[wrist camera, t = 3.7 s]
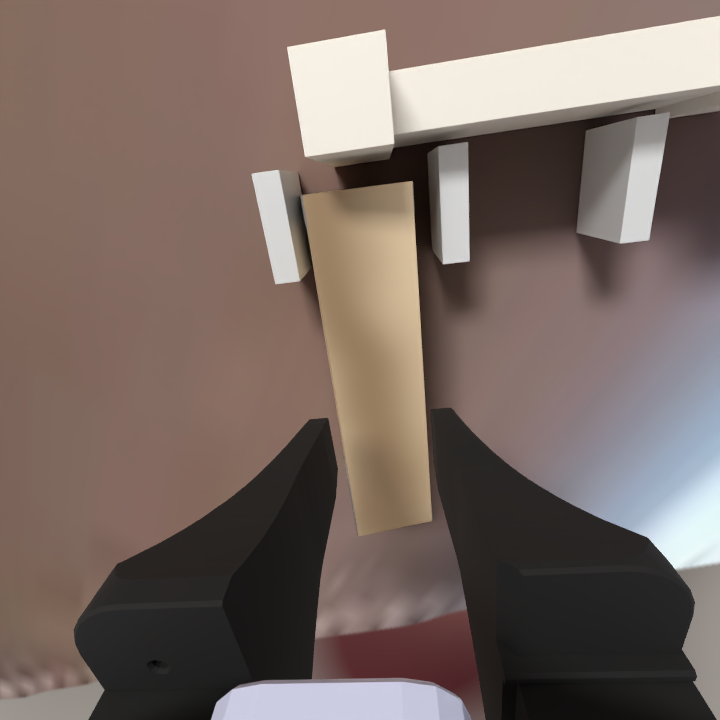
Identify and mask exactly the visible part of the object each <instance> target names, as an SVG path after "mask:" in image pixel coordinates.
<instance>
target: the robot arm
mask: <svg viewBox="0 0 720 720" xmlns="http://www.w3.org/2000/svg"><path fill="white" fill-rule="evenodd" d="M431 423H432V439H433V455H434V466H435V472H436V478H437V485H438V491H439V494H440V498H441V502H442V505H443V509H444V513H445V516H446V520H447V523H448V527H449V530H450V534H451V538H452V541H453V545H454V548H455V552H456V555H457V560H458V564H459V568H460V573H461V578H462V584H463V589H464V595H465V600H466V606H467V611H468V617H469V623H470V629H471V634H472V640H473V645H474V652H475V658H476V664H477V669H478V675H479V681H480V687H481V693H482V700H483V706H484V712H485V718H486V720H716V718H715V716H714V715H713V713H712V711H711V710H710V708H709V707H708V705H707V704H706V702H705V700H704V699H703V697H702V696H701V694H700V692H699V691H698V689H697V688H696V686H695V684H694V683H693V681H695V680H696V678H697V675H696V672H695V669H694V668H693V666H692V665H691V663H690V662H689V660H688V658H687V657H686V655H685V654H684V652H683V651H682V647H683V644H684V641H685V638H686V635H687V632H688V629H689V626H690V623H691V620H692V617H693V613H694V604H695V601H694V599H693V596H692V593H691V590H690V589H689V587H688V586H687V585H686V584H685V582H684V581H683V579H682V578H681V577H680V575H679V574H678V573H677V571H676V570H675V569H674V568H673V566H672V565H671V564H670V563H669V561H668V560H667V559H666V558H665V556H664V555H663V554H662V553H661V552H660V551H659V550H658V549H657V548H656V547H655V546H654V544H653V543H652V542H651V541H650V540H649V539H648V538H647V537H644V536H642V535H640V534H637V533H635V532H632V531H630V530H627V529H625V528H622V527H620V526H617V525H615V524H612V523H610V522H607V521H605V520H603V519H600V518H598V517H596V516H594V515H592V514H590V513H588V512H586V511H584V510H582V509H580V508H577V507H575V506H573V505H572V504H570V503H568V502H566V501H564V500H562V499H560V498H558V497H557V496H555V495H553V494H552V493H550V492H548V491H547V490H545V489H543V488H541V487H540V486H538V485H537V484H535V483H533V482H532V481H530V480H529V479H527V478H526V477H525V476H523V475H522V474H520V473H519V472H517V471H516V470H515V469H513V468H512V467H511V466H509V465H508V464H507V463H506V462H504V461H503V460H502V459H501V458H500V457H499V456H497V455H496V454H495V453H494V452H493V451H492V450H491V449H489V448H488V447H487V446H486V445H485V444H484V443H483V442H482V441H481V440H480V439H479V438H478V437H477V436H476V435H475V434H474V433H473V432H472V431H471V430H470V429H469V428H468V427H467V425H466V424H465V423H464V422H463V421H462V420H461V419H460V418H459V416H458V415H457V414H456V413H455V411H454V410H452V409H451V408H442V409H431ZM337 472H338V468H337V462H336V457H335V452H334V447H333V441H332V436H331V431H330V426H329V420H328V418H322V419H310V420H309V421H308V422H307V423H306V424H305V425H304V426H303V427H302V429H301V430H300V431H299V432H298V433H297V434H296V435H295V437H294V438H293V439H292V440H291V441H290V442H289V443H288V445H287V446H286V447H285V448H284V449H283V450H282V451H281V452H280V453H279V454H278V455H277V457H276V458H275V459H274V460H273V461H272V462H270V463H269V464H268V465H267V466H266V467H265V468H264V469H263V470H262V471H261V472H260V473H259V474H258V475H257V476H256V477H255V478H254V479H253V480H252V481H251V482H249V483H248V484H247V485H246V486H245V487H244V488H242V489H241V490H240V491H239V492H237V493H236V494H235V495H234V496H232V497H231V498H230V499H228V500H227V501H226V502H224V503H223V504H221V505H220V506H219V507H217V508H216V509H214V510H213V511H211V512H210V513H209V514H207V515H206V516H204V517H203V518H201V519H200V520H198V521H197V522H195V523H193V524H192V525H190V526H189V527H187V528H185V529H184V530H182V531H180V532H178V533H177V534H175V535H173V536H172V537H170V538H168V539H166V540H164V541H163V542H161V543H159V544H157V545H155V546H153V547H151V548H149V549H147V550H145V551H143V552H141V553H139V554H137V555H135V556H133V557H131V558H129V559H127V560H125V561H123V562H121V563H118V564H117V565H116V566H115V568H114V569H113V570H112V572H111V573H110V575H109V576H108V578H107V579H106V581H105V582H104V583H103V585H102V586H101V588H100V589H99V591H98V592H97V593H96V595H95V596H94V598H93V599H92V601H91V602H90V604H89V605H88V606H87V608H86V609H85V611H84V612H83V614H82V615H81V616H80V618H79V619H78V621H77V624H76V626H75V628H74V638H75V644H76V646H77V648H78V651H79V653H80V655H81V656H82V658H83V659H84V661H85V662H86V663H87V665H88V666H89V668H90V669H91V671H92V672H93V674H94V675H95V676H96V678H97V679H98V681H99V682H100V684H101V685H102V687H103V688H104V689H105V691H104V692H103V694H102V696H101V698H100V700H99V702H98V703H97V705H96V707H95V709H94V711H93V713H92V714H91V716H90V718H89V720H471V717H470V715H469V713H468V711H467V709H466V708H465V706H464V704H463V702H462V700H461V699H460V698H459V697H458V696H456V695H455V694H454V693H452V692H450V691H448V690H446V689H445V688H443V687H441V686H439V685H437V684H435V683H433V682H429V681H421V680H414V679H406V678H370V679H313V680H312V668H313V655H314V642H315V630H316V618H317V607H318V597H319V587H320V577H321V571H322V564H323V559H324V554H325V549H326V544H327V539H328V534H329V529H330V524H331V519H332V514H333V509H334V504H335V499H336V488H337Z"/></svg>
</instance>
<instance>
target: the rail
mask: <svg viewBox="0 0 720 720" xmlns="http://www.w3.org/2000/svg"><path fill="white" fill-rule="evenodd" d="M300 199H301V205H302V211H303V217H304V221H305V225H306V228H307V234H308V240H309V246H310V252H311V258H312V264H313V270H314V276H315V282H316V288H317V294H318V300H319V306H320V312H321V318H322V324H323V330H324V336H325V342H326V348H327V354H328V360H329V366H330V372H331V378H332V384H333V390H334V396H335V402H336V408H337V414H338V420H339V426H340V432H341V438H342V444H343V450H344V461H345V467H346V473H347V479H348V485H349V490H350V496H351V502H352V507H353V513H354V519H355V524H356V530H357V535H359V536H363V535H368V534H373V533H377V532H382V531H387V530H392V529H396V528H401V527H406V526H411V525H415V524H420V523H425V522H430V521H432V504H431V494H430V476H429V459H428V442H427V425H426V408H425V391H424V373H423V356H422V339H421V322H420V305H419V287H418V270H417V253H416V236H415V219H414V213H415V208H414V190H413V181H408V182H399V183H390V184H382V185H374V186H367V187H359V188H351V189H344V190H336V191H328V192H321V193H313V194H305V195H300Z"/></svg>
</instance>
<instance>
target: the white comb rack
mask: <svg viewBox="0 0 720 720" xmlns="http://www.w3.org/2000/svg"><path fill="white" fill-rule="evenodd" d="M287 49H288V55H289V61H290V68H291V74H292V80H293V86H294V92H295V98H296V104H297V110H298V116H299V122H300V128H301V135H302V141H303V147H304V153H305V157H307V158H310V159H312V160H315V161H318V162H321V163H324V164H326V165H329V166H332V167H339V166H346V165H352V164H359V163H366V162H373V161H380V160H387V159H390V156H391V153H392V149H393V148H396V147H402V146H409V145H416V144H423V143H429V142H436V141H443V140H450V139H456V138H463V137H470V136H477V135H483V134H490V133H497V132H504V131H510V130H517V129H524V128H531V127H537V126H544V125H551V124H558V123H564V122H571V121H578V120H585V119H591V118H598V117H605V116H612V115H618V114H625V113H632V112H639V111H645V110H652V109H656V110H655V115H648V116H641V117H636V118H632V119H628V120H624V121H620V122H617V123H613V124H609V125H605V126H601V127H597V128H594V129H590V130H586V134H585V145H584V156H583V166H582V177H581V188H580V198H579V209H578V220H577V231H576V233H579V234H583V235H588V236H592V237H596V238H600V239H604V240H608V241H612V242H616V243H620V244H621V243H629V242H638V241H646V240H649V237H650V231H651V225H652V219H653V213H654V207H655V201H656V195H657V189H658V183H659V177H660V171H661V165H662V159H663V153H664V147H665V141H666V135H667V129H668V123H669V118H675V117H682V116H689V115H696V114H703V113H710V112H717V111H720V16H717V17H711V18H705V19H699V20H693V21H687V22H681V23H675V24H669V25H663V26H657V27H651V28H645V29H639V30H633V31H627V32H621V33H615V34H609V35H603V36H597V37H591V38H585V39H579V40H573V41H568V42H562V43H556V44H550V45H544V46H538V47H532V48H526V49H520V50H514V51H508V52H502V53H496V54H490V55H484V56H478V57H472V58H466V59H460V60H454V61H448V62H442V63H436V64H430V65H424V66H418V67H412V68H406V69H400V70H394V71H388V58H387V46H386V33H385V30H381V31H375V32H369V33H364V34H358V35H352V36H347V37H341V38H336V39H330V40H324V41H319V42H313V43H308V44H302V45H296V46H291V47H287ZM427 159H428V179H429V199H430V218H431V238H432V251H433V252H434V253H435V255H436V256H437V257H438V259H439V260H440V261H441V262H442V264H450V263H459V262H467V261H470V251H469V174H468V142H464V143H457V144H451V145H444V146H438V147H436V148H435V149H433V150H432V151H430V152H429V153H427ZM252 178H253V183H254V187H255V192H256V197H257V201H258V206H259V211H260V215H261V220H262V224H263V229H264V234H265V238H266V243H267V247H268V252H269V257H270V261H271V266H272V270H273V275H274V280H275V284H280V283H289V282H297V281H301V279H302V278H303V277H304V276H305V275H306V273H307V272H308V271H309V270H310V269H311V267H312V266H313V264H312V258H311V252H310V246H309V240H308V234H307V228H306V225H305V221H304V217H303V211H302V205H301V199H300V195H302V193H301V187H300V181H299V176H298V172H291V171H284V170H274V171H267V172H260V173H253V174H252Z"/></svg>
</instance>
